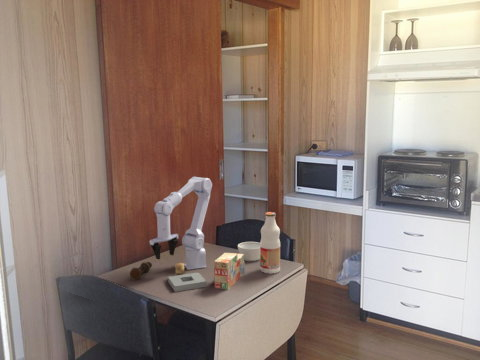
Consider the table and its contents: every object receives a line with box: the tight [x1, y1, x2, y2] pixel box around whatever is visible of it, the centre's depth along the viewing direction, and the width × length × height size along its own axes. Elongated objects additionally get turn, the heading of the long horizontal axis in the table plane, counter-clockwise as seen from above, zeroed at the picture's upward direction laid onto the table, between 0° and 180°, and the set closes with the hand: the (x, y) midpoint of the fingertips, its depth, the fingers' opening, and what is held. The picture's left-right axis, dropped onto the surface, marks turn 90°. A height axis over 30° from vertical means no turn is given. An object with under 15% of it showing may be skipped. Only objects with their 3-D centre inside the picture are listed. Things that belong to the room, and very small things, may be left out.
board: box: [167, 272, 208, 293], centre depth 190 cm, size 14×12×2 cm
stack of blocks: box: [213, 252, 245, 291], centre depth 194 cm, size 21×6×12 cm, turn 160°
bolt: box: [129, 261, 153, 280], centre depth 203 cm, size 6×5×15 cm
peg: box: [174, 262, 185, 276], centre depth 197 cm, size 4×4×6 cm
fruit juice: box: [259, 211, 281, 275], centre depth 204 cm, size 9×9×28 cm
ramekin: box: [237, 241, 260, 262], centre depth 225 cm, size 13×13×7 cm
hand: (164, 256), depth 198 cm, fingers open, 7 cm apart
